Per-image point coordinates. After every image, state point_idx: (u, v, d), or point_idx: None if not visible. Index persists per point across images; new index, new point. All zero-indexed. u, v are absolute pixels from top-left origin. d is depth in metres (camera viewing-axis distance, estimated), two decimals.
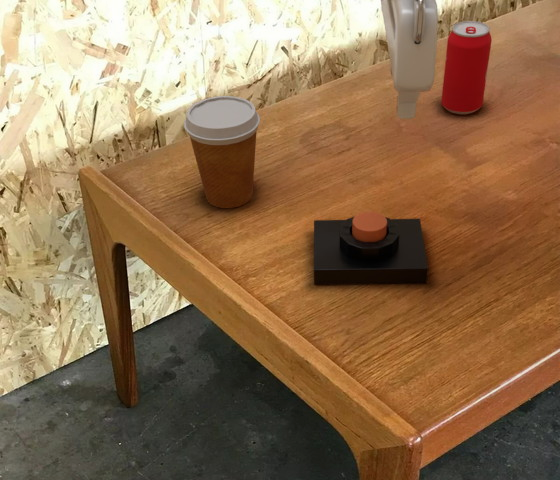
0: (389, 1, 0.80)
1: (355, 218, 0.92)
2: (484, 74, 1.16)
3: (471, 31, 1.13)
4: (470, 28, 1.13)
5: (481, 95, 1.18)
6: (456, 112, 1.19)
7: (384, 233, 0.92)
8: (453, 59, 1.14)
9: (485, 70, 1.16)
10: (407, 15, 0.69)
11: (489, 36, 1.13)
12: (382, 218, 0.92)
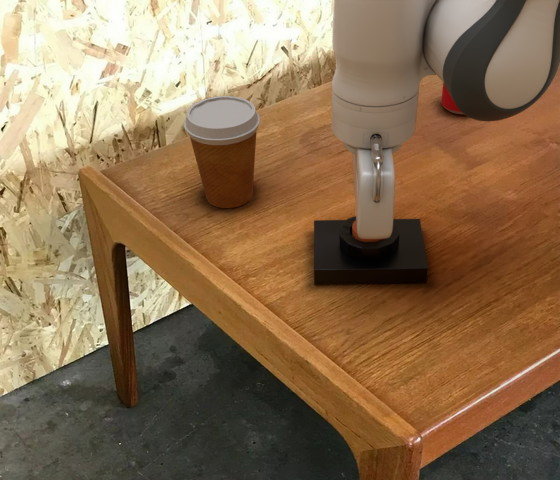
0: None
1: (355, 223, 0.93)
2: None
3: None
4: None
5: None
6: (456, 112, 1.19)
7: None
8: None
9: None
10: (367, 179, 0.78)
11: None
12: None
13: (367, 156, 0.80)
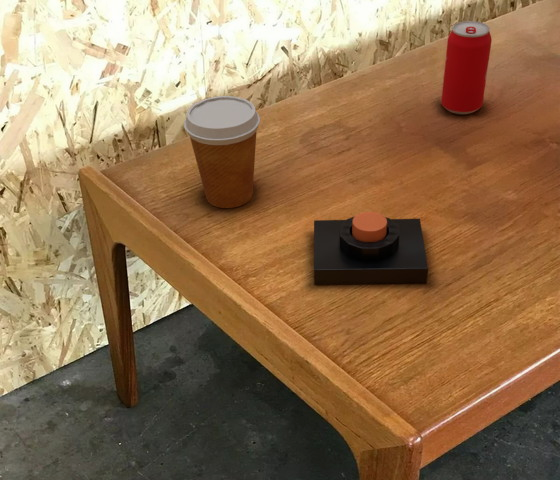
0: None
1: (355, 218, 0.92)
2: (484, 74, 1.16)
3: (471, 31, 1.13)
4: (470, 28, 1.13)
5: (481, 95, 1.18)
6: (456, 112, 1.19)
7: (384, 233, 0.92)
8: (453, 59, 1.14)
9: (485, 70, 1.16)
10: None
11: (489, 36, 1.13)
12: (382, 218, 0.92)
13: None
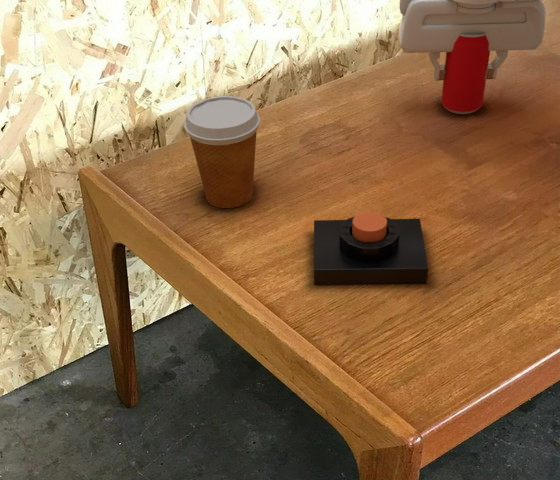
0: None
1: (355, 218, 0.92)
2: (484, 74, 1.16)
3: None
4: None
5: (481, 95, 1.18)
6: (456, 112, 1.19)
7: (384, 233, 0.92)
8: (453, 59, 1.14)
9: (485, 70, 1.16)
10: None
11: None
12: (382, 218, 0.92)
13: None
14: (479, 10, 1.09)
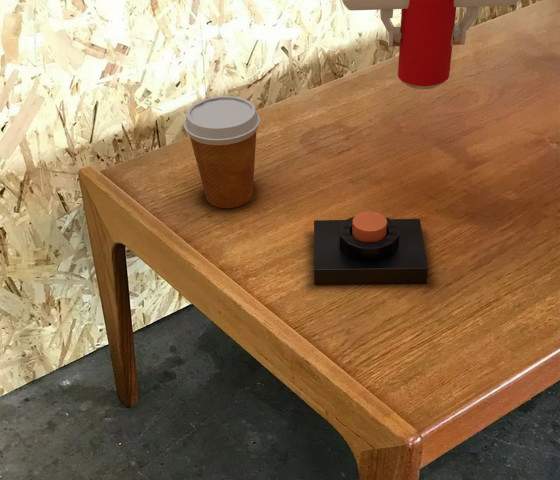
0: None
1: (355, 218, 0.92)
2: (449, 37, 0.92)
3: None
4: None
5: (446, 65, 0.94)
6: (415, 86, 0.95)
7: (384, 233, 0.92)
8: (409, 17, 0.90)
9: (450, 32, 0.91)
10: None
11: None
12: (382, 218, 0.92)
13: None
14: None
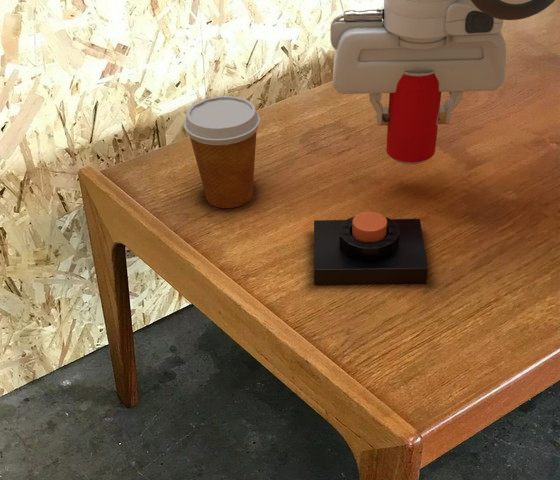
0: None
1: (355, 218, 0.92)
2: (435, 119, 0.97)
3: None
4: None
5: (432, 143, 0.99)
6: (403, 162, 1.00)
7: (384, 233, 0.92)
8: (396, 101, 0.95)
9: (436, 114, 0.96)
10: None
11: None
12: (382, 218, 0.92)
13: None
14: (425, 45, 0.89)
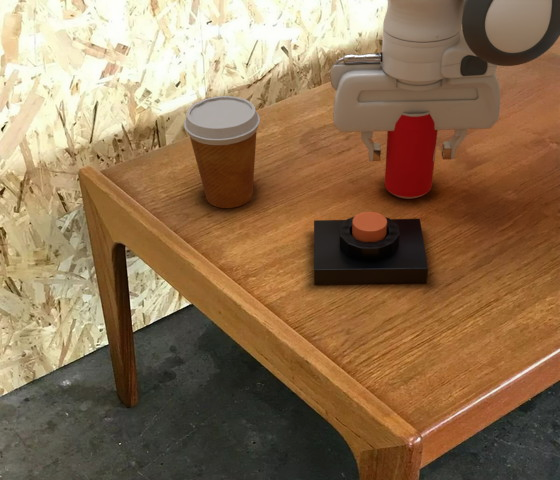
0: None
1: (355, 218, 0.92)
2: (431, 156, 1.00)
3: None
4: None
5: (429, 178, 1.03)
6: (400, 196, 1.04)
7: (384, 233, 0.92)
8: (394, 139, 0.99)
9: (432, 151, 1.00)
10: None
11: None
12: (382, 218, 0.92)
13: None
14: (422, 87, 0.93)
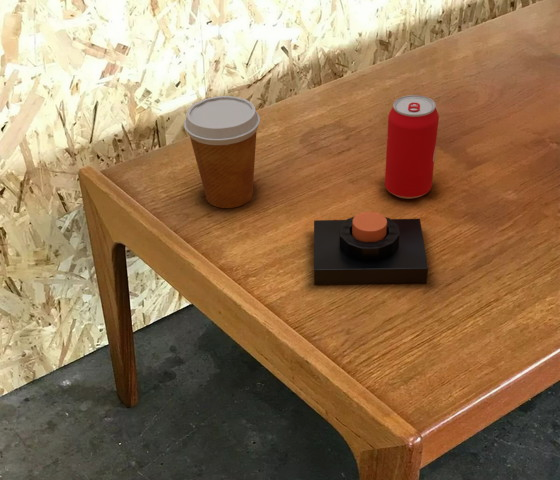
0: None
1: (355, 218, 0.92)
2: (431, 156, 1.00)
3: (414, 108, 0.97)
4: (413, 105, 0.98)
5: (429, 178, 1.03)
6: (400, 196, 1.04)
7: (384, 233, 0.92)
8: (394, 139, 0.99)
9: (432, 151, 1.00)
10: None
11: (435, 114, 0.97)
12: (382, 218, 0.92)
13: None
14: None
